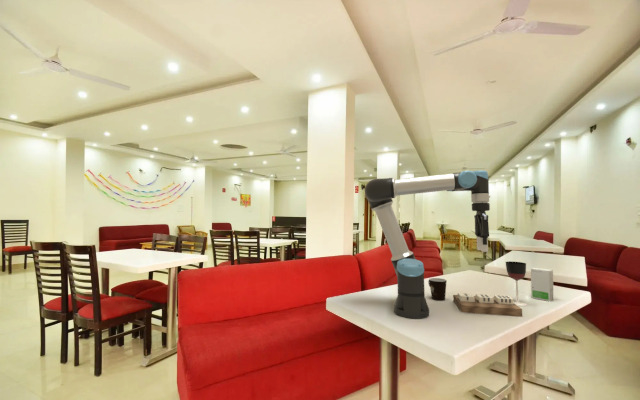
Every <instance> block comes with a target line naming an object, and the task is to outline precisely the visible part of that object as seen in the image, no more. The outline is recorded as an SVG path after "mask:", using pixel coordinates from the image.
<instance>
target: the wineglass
mask: <svg viewBox="0 0 640 400" xmlns="http://www.w3.org/2000/svg"><path fill="white" fill-rule="evenodd" d="M505 269H506V273H507V275H508V277H509V278H511V279H513V280H514V281H515V292H516V293H515V294H516V295H515V297H516V300H515V301H514V300H513V302H514V304H516V305H517V306H518V307H520V306H521V307H524V306H527V305H528V304H527V303H525V302H522V301H520V300H519V284H518V281H521V280H522V279H524V278H525V276H526V274H527V272H526V271H527V263H525V262H521V261H511V260H510V261H505Z"/></svg>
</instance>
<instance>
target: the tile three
mask: <svg viewBox="0 0 640 400" xmlns="http://www.w3.org/2000/svg"><path fill="white" fill-rule="evenodd" d="M493 297H494V300H495V301H496V302H497V303H499V304H512V305H514V302H513V301H514V299H513V297H511V296H509V295H501V294H494V295H493Z"/></svg>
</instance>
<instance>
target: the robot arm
mask: <svg viewBox="0 0 640 400" xmlns="http://www.w3.org/2000/svg"><path fill="white" fill-rule="evenodd" d="M489 180H490V179H489V173H488V171H487V170H481V169H480V170H463V171H460V172H459V171H458V172H452V173H451V172H450V173H443V174H435V175H434V174H433V175H426V176H417V177H408V178H397V179H395V178H393V177H386V178H385V177H384V178H374V179H373V178H372V179H371V180H369V181H368V182H366V184H365V187H364V194H365V197H366V199H367V202H368V203H369V204H368V205H369V207H370V209H371V211H373V212H375V214H376V216H377V219H378V221H379V224H380V227H381V229H382V231H383V234H384V237H385V240H386V242H387V245H388V248H389V250H390V253H391V255H392V256H391V258H390V261H391V264H392V266H393V269H394V272H395V274H396V277H397V296H396V299H395V303H394V307H393V311H394V313H395V315H397V314H398V315H397V316H399V315H400V317H402V316H403V318H407V319H424V318H428V317H429V316H430V308H429V304H428V302H427V300H426V296H425V268H424V263H423V261H421V260H419V259H416V257H415V255H414V252H413V251H411V250H410V249H409V247H408V244H407V242H406V240H405V237H404V234H403V232H402V229H401V227H400V224H399V222H398V220H397V216H396V215H395V214H396V213H395V212H394V210H393V209H394V208H393V207H392V205H393V204H394V200H393V199H395V198H396V197H397V196H406V195H416V194H417V195H418V194H424V193H435V192H443V191H444V192H445V191H446V192H466V191H467V192H469V191H470V199H471V203H472V204H471V211H472V212H475V213H476V214H475V215H473V216H474V235H475V237H476V250H477V251H480V252H482V253H488V252H489V243H488V242H489V241H488V239H489V237H490V228H489V227H490V225H489V215H488V214H487V213H486V212H488V211H490V209H491V208H490V207H491V206H490V205H491V204H490V203H489V202H490V198H491V195H490V191H489V189H490V186H489Z"/></svg>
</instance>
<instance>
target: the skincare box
mask: <svg viewBox="0 0 640 400" xmlns="http://www.w3.org/2000/svg"><path fill="white" fill-rule="evenodd" d="M530 287H531V288H530V291H531V293H530V294H531V295H530V296H531V298H532V299H536V300H541V301H546V302H549V301H550V302H552V301H554V270H553V269H549V268H541V267H531V268H530Z"/></svg>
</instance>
